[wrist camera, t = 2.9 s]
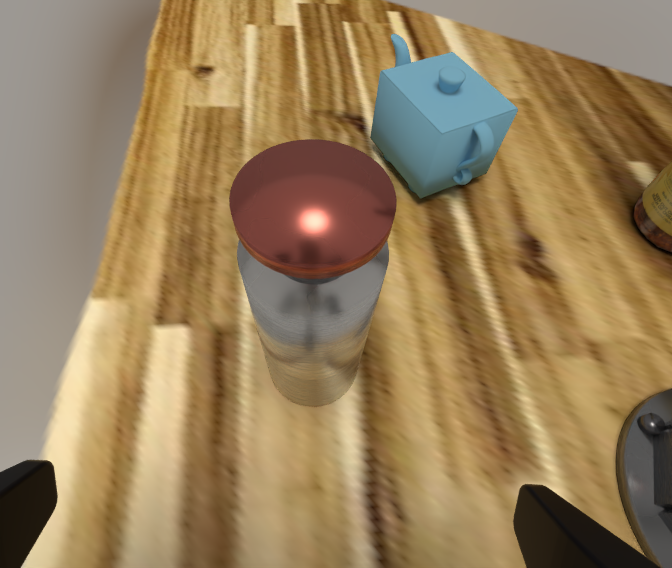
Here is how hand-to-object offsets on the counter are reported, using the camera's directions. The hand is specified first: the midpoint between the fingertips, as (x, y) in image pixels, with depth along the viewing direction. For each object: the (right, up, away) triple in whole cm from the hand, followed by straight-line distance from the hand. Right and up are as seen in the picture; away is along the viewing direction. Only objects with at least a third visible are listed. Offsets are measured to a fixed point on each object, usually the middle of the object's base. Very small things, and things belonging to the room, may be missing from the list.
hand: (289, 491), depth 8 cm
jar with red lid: (0, 0, +15) cm, 15 cm away
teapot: (+8, +14, +24) cm, 29 cm away
